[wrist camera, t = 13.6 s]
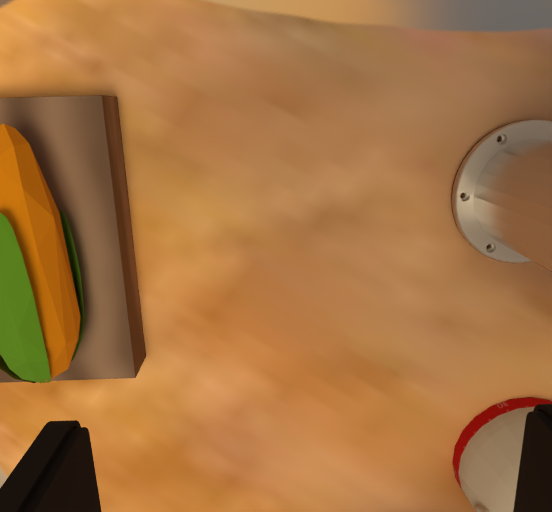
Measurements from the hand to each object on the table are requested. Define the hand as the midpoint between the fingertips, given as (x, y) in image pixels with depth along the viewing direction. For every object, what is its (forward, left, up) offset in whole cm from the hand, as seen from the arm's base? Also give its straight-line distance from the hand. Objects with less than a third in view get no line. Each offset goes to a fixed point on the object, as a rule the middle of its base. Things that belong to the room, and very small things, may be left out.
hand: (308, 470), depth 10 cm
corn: (+20, +3, -31) cm, 36 cm away
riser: (+19, +3, -34) cm, 39 cm away
